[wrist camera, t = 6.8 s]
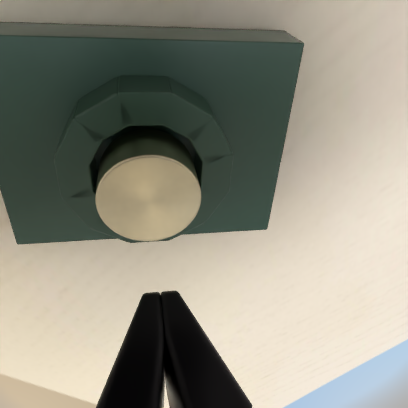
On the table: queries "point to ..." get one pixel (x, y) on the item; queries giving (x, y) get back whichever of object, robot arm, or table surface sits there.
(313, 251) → the table surface
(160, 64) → the button box
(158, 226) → the button
